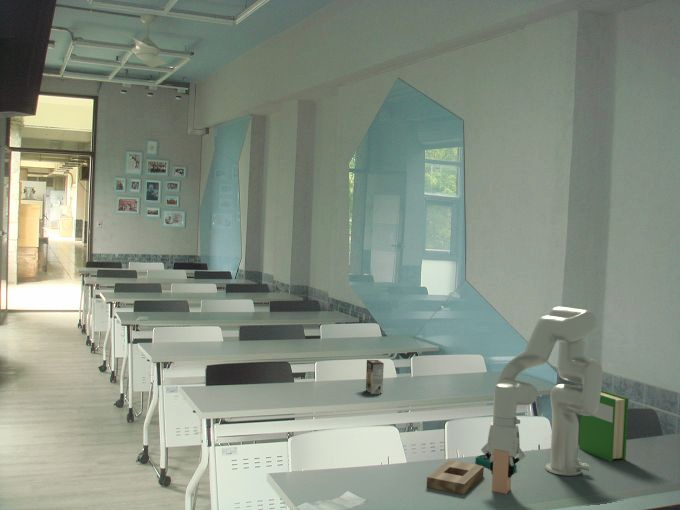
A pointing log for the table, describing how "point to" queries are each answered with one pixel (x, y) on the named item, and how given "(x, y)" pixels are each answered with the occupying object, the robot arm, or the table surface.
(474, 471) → the wooden peg hole block
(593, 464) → the table surface
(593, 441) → the hardback book
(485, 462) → the digital multimeter
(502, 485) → the square peg
